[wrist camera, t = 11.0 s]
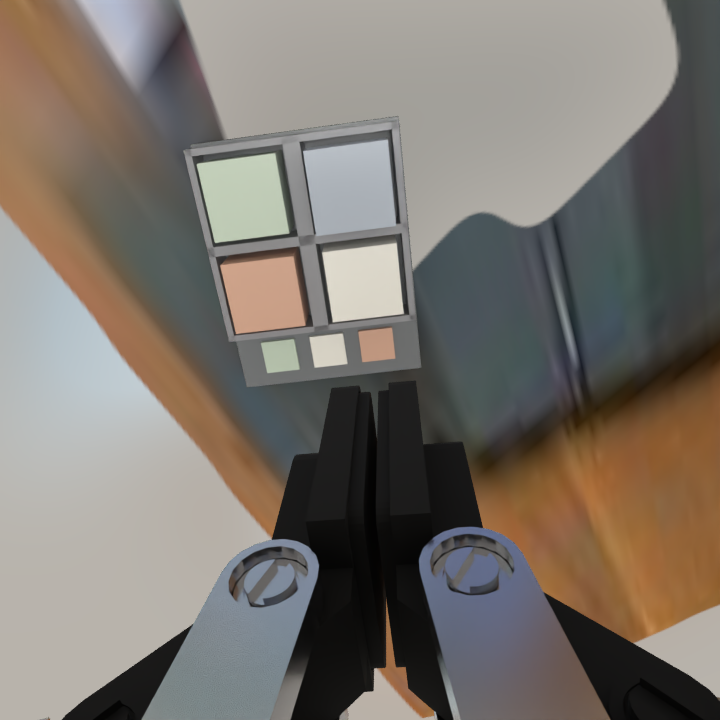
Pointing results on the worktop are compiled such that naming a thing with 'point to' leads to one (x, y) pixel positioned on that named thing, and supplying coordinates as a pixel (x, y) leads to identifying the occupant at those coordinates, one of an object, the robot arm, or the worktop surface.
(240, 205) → the sage key
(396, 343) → the keypad board
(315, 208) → the slate key
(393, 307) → the ivory key
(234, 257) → the terracotta key
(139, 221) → the worktop surface
